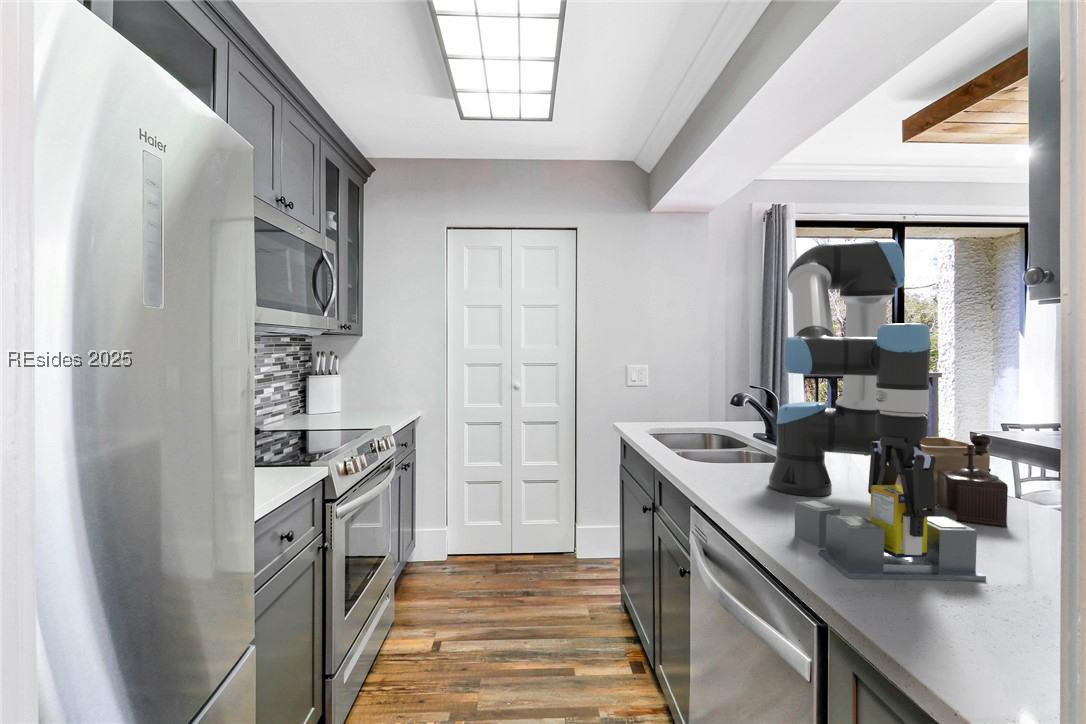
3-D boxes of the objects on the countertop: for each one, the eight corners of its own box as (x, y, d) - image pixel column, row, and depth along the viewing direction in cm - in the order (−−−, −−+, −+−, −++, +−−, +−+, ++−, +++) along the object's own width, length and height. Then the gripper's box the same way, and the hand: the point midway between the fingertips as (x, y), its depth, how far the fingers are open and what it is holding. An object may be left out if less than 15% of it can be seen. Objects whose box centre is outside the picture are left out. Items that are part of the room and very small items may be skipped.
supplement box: (927, 557, 87) (929, 492, 87) (895, 559, 87) (897, 494, 86) (899, 544, 93) (900, 483, 93) (868, 545, 92) (870, 484, 92)
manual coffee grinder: (1012, 529, 110) (1015, 444, 109) (947, 521, 114) (949, 439, 114) (987, 508, 124) (989, 433, 123) (930, 502, 128) (932, 429, 128)
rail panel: (818, 554, 95) (819, 511, 95) (941, 556, 95) (942, 512, 94) (848, 578, 85) (849, 530, 85) (986, 581, 85) (987, 532, 84)
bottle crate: (886, 487, 142) (887, 436, 141) (942, 488, 141) (944, 437, 141) (925, 504, 127) (926, 447, 126) (988, 505, 126) (990, 447, 126)
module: (794, 536, 104) (795, 501, 104) (814, 534, 106) (814, 499, 106) (818, 547, 99) (819, 510, 98) (839, 544, 100) (839, 507, 100)
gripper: (847, 406, 99) (845, 526, 100) (917, 420, 80) (913, 569, 80) (887, 407, 99) (884, 526, 100) (967, 421, 79) (963, 570, 80)
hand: (897, 545), depth 90 cm, fingers closed on supplement box, 6 cm apart
